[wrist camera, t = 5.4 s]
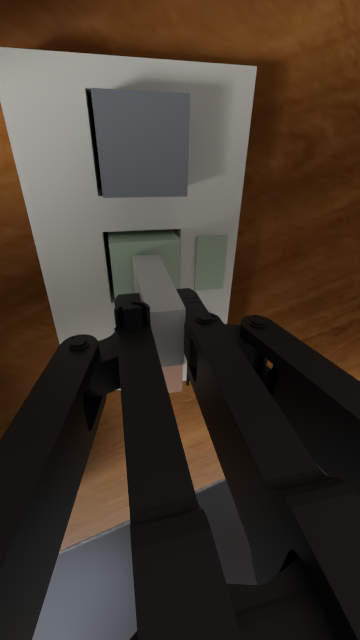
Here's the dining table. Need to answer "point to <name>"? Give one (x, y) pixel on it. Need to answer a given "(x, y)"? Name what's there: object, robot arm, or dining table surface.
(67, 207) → the button board
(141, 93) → the slate grey button
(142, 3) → the dining table surface
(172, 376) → the salmon pink button
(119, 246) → the sage button
